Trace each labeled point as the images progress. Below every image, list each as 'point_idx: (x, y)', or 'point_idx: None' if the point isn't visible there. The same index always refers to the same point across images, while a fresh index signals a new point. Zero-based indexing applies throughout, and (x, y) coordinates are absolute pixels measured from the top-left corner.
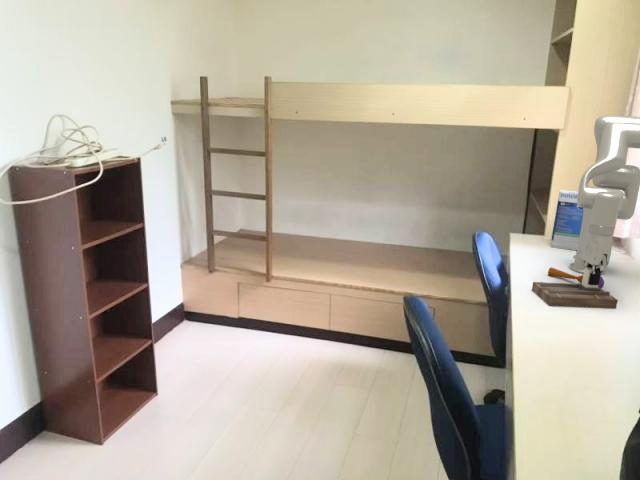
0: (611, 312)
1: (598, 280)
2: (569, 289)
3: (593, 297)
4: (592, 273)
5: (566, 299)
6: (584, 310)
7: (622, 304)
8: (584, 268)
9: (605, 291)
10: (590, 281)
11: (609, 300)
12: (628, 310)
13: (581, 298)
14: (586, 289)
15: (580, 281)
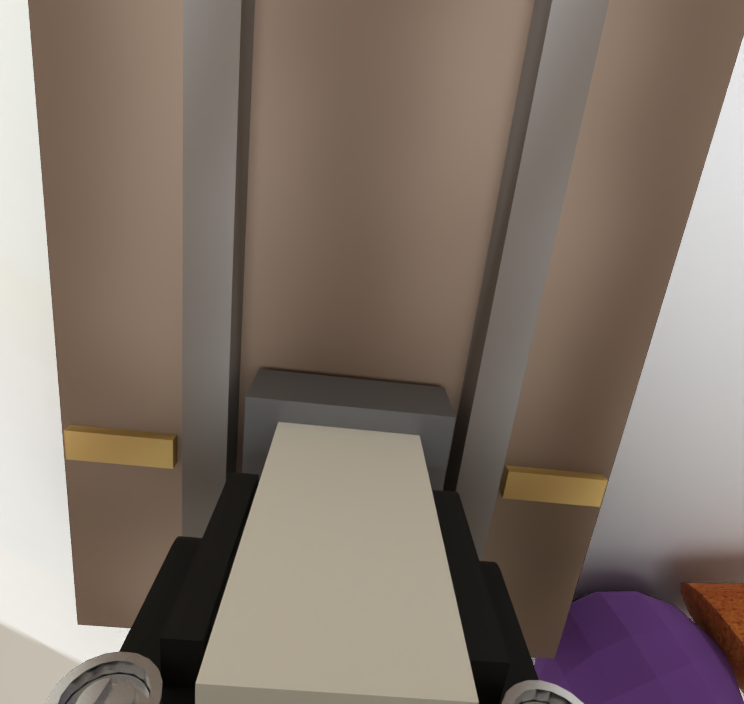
0: (10, 455)
1: None
2: (412, 228)
3: (119, 396)
4: (129, 661)
5: None
6: (8, 181)
7: None
8: (550, 686)
9: None
10: (216, 516)
11: (78, 540)
12: (93, 629)
13: (43, 188)
14: (247, 402)
15: (731, 589)
